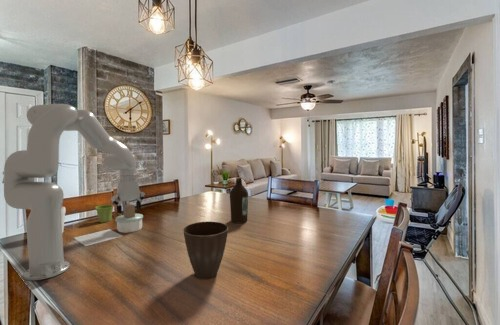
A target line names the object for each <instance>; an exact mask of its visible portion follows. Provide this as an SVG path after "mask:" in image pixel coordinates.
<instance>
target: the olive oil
mask: <svg viewBox="0 0 500 325" xmlns="http://www.w3.org/2000/svg"><path fill="white" fill-rule="evenodd" d="M229 203H230V204H229V205H230V206H229V207H230V220H231V222H232V223H234V224H243V223H247V222H248V213H249V212H248V210H249V209H248V208H249V207H248V206H249V205H248V204H249V193H248V190H247V189H246V188H245V186H244V185H243V180H242V177H236V178H235V185H234V186H233V187H232V188H231V190H230V192H229Z"/></svg>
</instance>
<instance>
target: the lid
mask: <svg viewBox="0 0 500 325" xmlns="http://www.w3.org/2000/svg"><path fill="white" fill-rule="evenodd" d="M122 206H123V208H122V209H123V214H120V215H118V216H116V217H115V218H114V219H115V222H116V223H117V222H121V223H125V222H134V221H138V220H141V219H142V220H143V219H144V215H143V214H142V213H136V208H135V206H136V204H135V205H134V204H126V205H125V204H124V205H122Z"/></svg>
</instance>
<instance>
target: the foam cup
mask: <svg viewBox="0 0 500 325" xmlns="http://www.w3.org/2000/svg"><path fill="white" fill-rule="evenodd" d="M65 219H66V206H62V209H61V223H62V234H63V233H64V228H65Z"/></svg>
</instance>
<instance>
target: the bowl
mask: <svg viewBox="0 0 500 325" xmlns="http://www.w3.org/2000/svg"><path fill="white" fill-rule="evenodd" d="M142 227H143V218H142V219H141V220H138V221H134V222H125V223H121V222H116V231H118V232H119V233H122V234H123V233H133V232H136V231H137V232H138V231H139V230H142Z"/></svg>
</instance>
